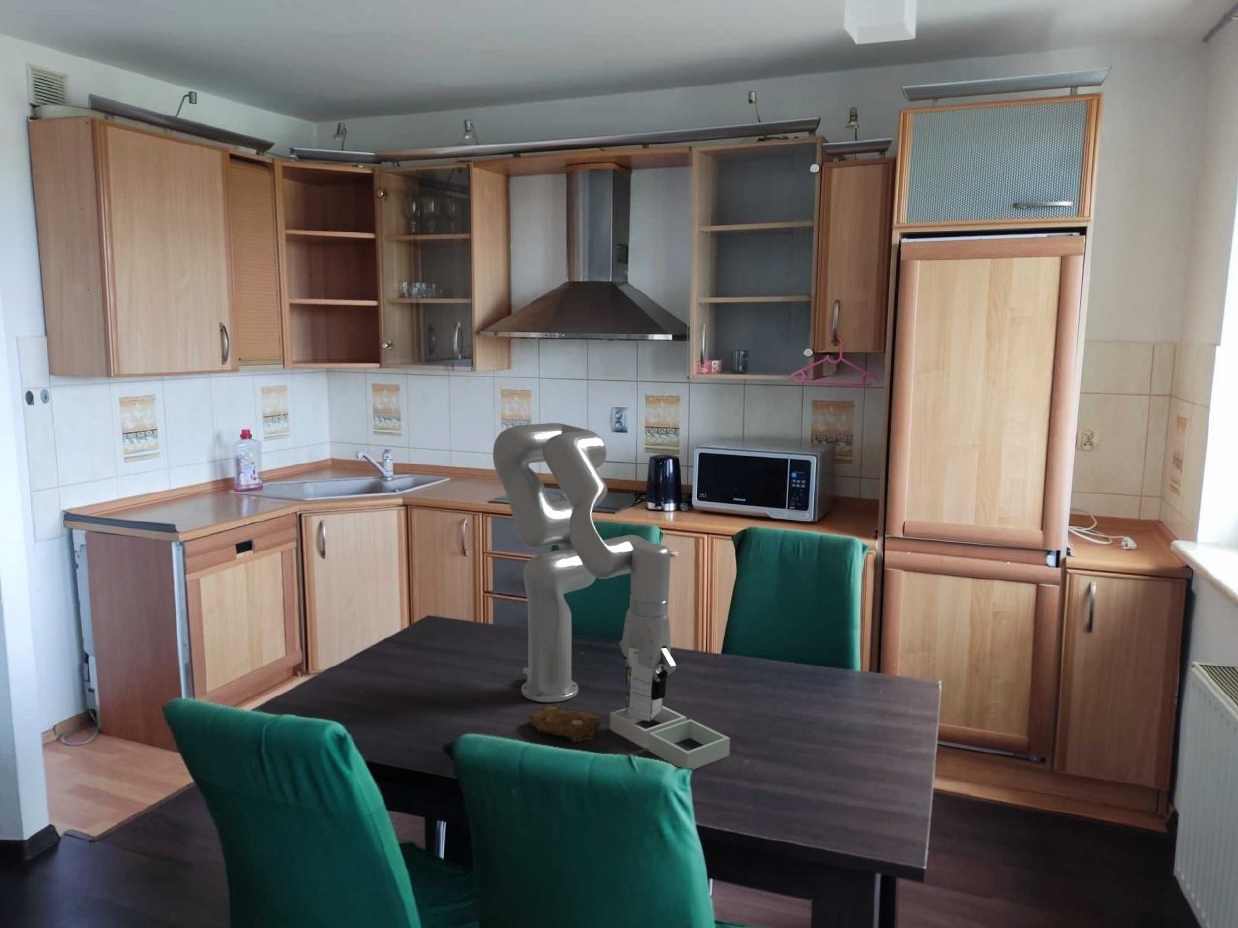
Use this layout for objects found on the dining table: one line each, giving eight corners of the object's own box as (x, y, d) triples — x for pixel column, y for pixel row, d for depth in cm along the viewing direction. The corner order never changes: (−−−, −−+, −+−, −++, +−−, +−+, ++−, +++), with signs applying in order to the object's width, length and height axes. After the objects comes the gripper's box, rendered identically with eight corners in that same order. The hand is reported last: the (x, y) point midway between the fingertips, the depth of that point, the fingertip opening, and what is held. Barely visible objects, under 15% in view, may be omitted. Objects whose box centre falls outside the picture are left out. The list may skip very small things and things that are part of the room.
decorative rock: (516, 739, 182) (588, 752, 178) (516, 720, 181) (588, 733, 177) (537, 714, 192) (605, 726, 188) (537, 696, 192) (606, 707, 187)
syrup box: (637, 705, 189) (640, 637, 186) (663, 712, 186) (666, 643, 184) (624, 715, 184) (627, 646, 181) (651, 722, 181) (654, 652, 179)
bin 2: (648, 750, 176) (648, 733, 176) (690, 735, 183) (690, 719, 182) (687, 771, 168) (687, 753, 167) (729, 755, 174) (729, 737, 174)
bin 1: (609, 729, 185) (610, 712, 185) (650, 716, 192) (651, 700, 192) (644, 748, 177) (645, 731, 176) (686, 733, 184) (686, 717, 183)
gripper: (606, 598, 185) (603, 681, 188) (663, 622, 172) (659, 711, 175) (635, 592, 190) (632, 673, 193) (693, 615, 177) (688, 702, 180)
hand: (645, 690), depth 184 cm, fingers closed on syrup box, 7 cm apart
